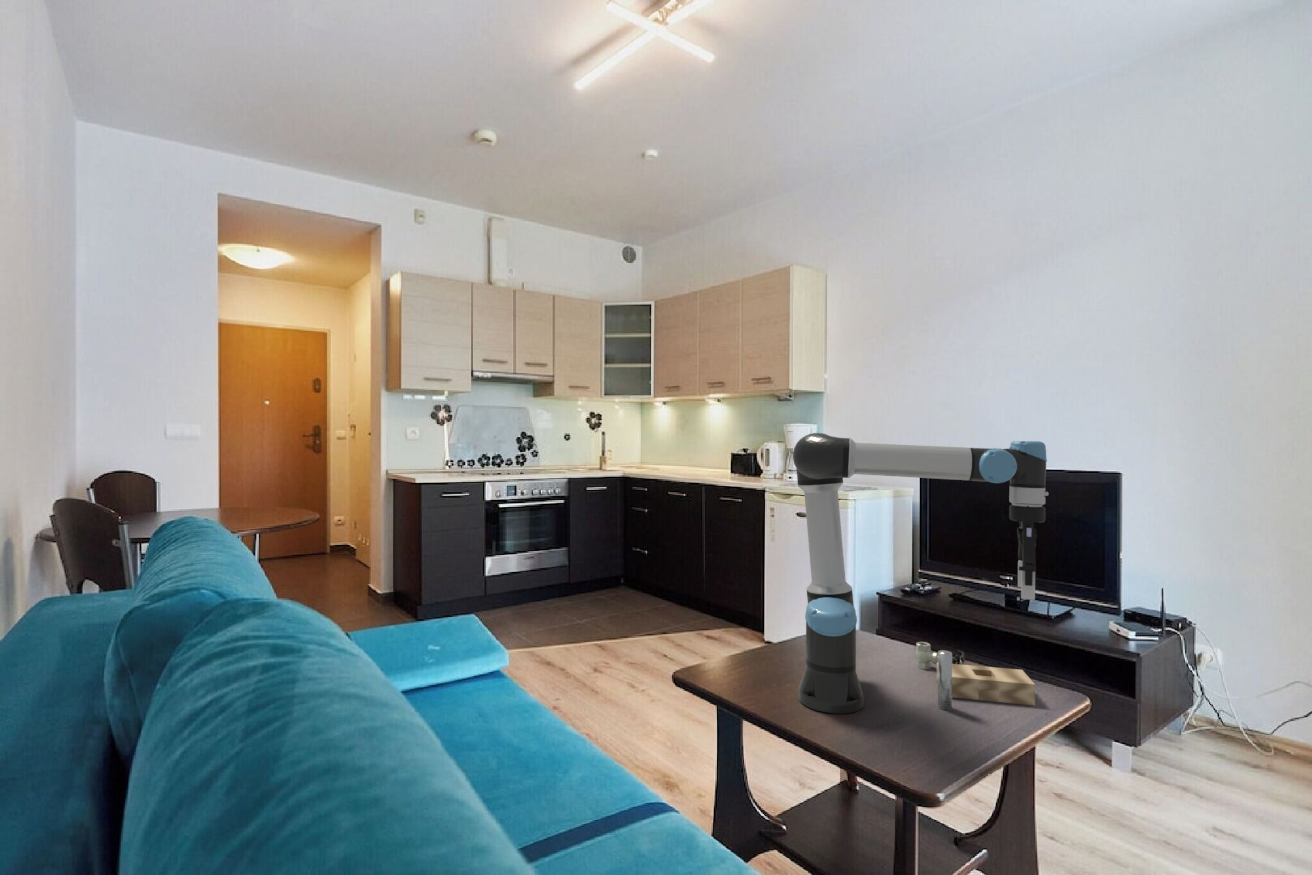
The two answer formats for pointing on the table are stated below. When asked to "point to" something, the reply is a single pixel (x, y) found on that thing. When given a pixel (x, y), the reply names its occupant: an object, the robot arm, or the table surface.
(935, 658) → the valve
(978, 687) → the hole block
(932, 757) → the table surface
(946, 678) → the peg
